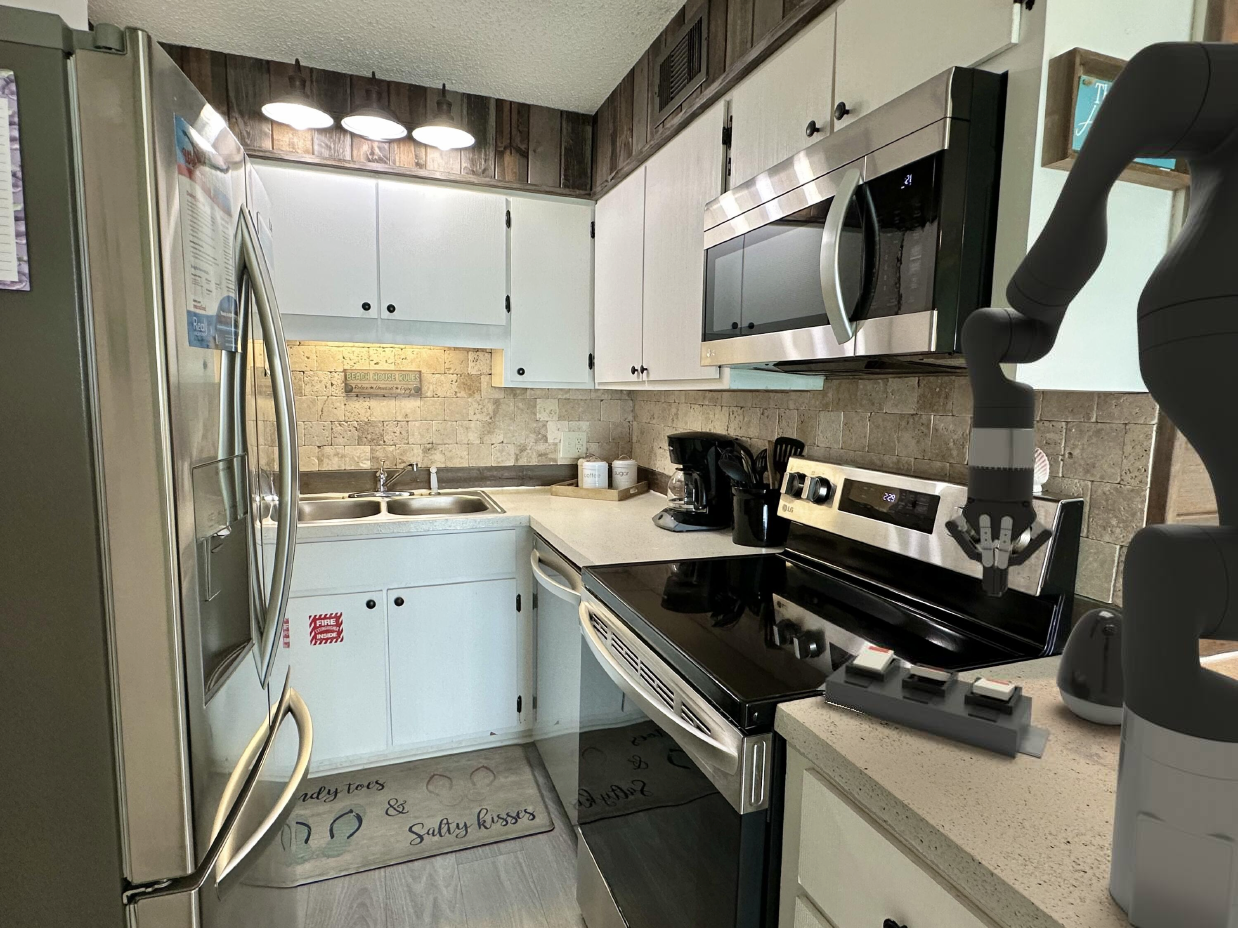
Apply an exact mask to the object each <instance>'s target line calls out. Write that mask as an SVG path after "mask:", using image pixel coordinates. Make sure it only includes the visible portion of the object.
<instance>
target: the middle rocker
mask: <svg viewBox="0 0 1238 928" xmlns="http://www.w3.org/2000/svg"><path fill="white" fill-rule="evenodd" d="M910 668H911V669H910V673H913V674H917V675H921V676H925V677H929V678H933V679H938V680H943V681H948V679H949V678H950V677H951V674H948V673H946V672H942V671H938V670H934V669H930V668H925V667H924V668H922V667H917V666H915V665H910Z"/></svg>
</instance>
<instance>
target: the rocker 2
mask: <svg viewBox="0 0 1238 928" xmlns="http://www.w3.org/2000/svg"><path fill="white" fill-rule="evenodd" d="M981 678H982V679H980V680H979V681H977V682H976V683H974V684H973V692H975V693H979V694H984V695H988V696H992V697H996V698H1000V699H1004V700H1008V699H1009V698H1010V697H1011V696H1012V695H1013V694H1014V692H1015V686H1016V685H1014V684H1011V683H1009V682H1008V683H1007V682H1004V681H1003V682H1002V681H999V680H995V679H991V678H984V677H981Z"/></svg>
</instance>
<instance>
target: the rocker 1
mask: <svg viewBox="0 0 1238 928" xmlns="http://www.w3.org/2000/svg"><path fill="white" fill-rule="evenodd" d="M894 652H895V651H894V650H891V649H886V648H882V647H877V646H873V645H869V644H867V645H865V646H864V648H863V649H862V650H861V652H859V653H858V654H859V656H858V657H857V658H856V659H855V661H854V662H853V665H854V666H858V667H862V668H866V669H870V670H874V671H878V672H883V671H884V670H885V669H886V667H887V666H888V665H889V663H890V662H891V660H892V659H893V657H894V658H895V656H894V654H895V653H894Z"/></svg>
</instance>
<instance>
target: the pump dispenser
mask: <svg viewBox="0 0 1238 928" xmlns="http://www.w3.org/2000/svg"><path fill="white" fill-rule="evenodd" d="M1121 644H1122V614H1120V613H1118V612H1117V611H1115V610H1112V609H1109V608H1101V607H1100V608H1096V609H1095V608H1094V609H1091V610H1089V611H1087V612H1086V613H1084V614H1083V615H1082V616H1081V618H1079V619H1078V621H1077V623H1076V624H1075V625H1074V627H1073V628H1072V630H1071V633H1070V635H1069V636H1068V638H1067V641H1066V642H1065V646H1064V648H1063V651H1062V654H1061V657H1060V660H1059V664H1058V669H1057V672H1056V679H1055V680H1056V686H1057V687H1058V690H1059V691H1058V692H1059V694H1060V697H1061V700H1062V701H1063V703H1064V704H1065V705H1066V707H1067V708H1068V709H1069V710H1070V711H1071V712H1072V713H1074V714H1075V715H1077V716H1079V717H1080V718H1081V719H1082V718H1083V719H1085V720H1086V721H1090V722H1092V723H1096V724H1101V725H1105V726H1106V725H1109V726H1114V725H1122V713H1123V701H1124V677H1123V670H1122V662H1121Z"/></svg>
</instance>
